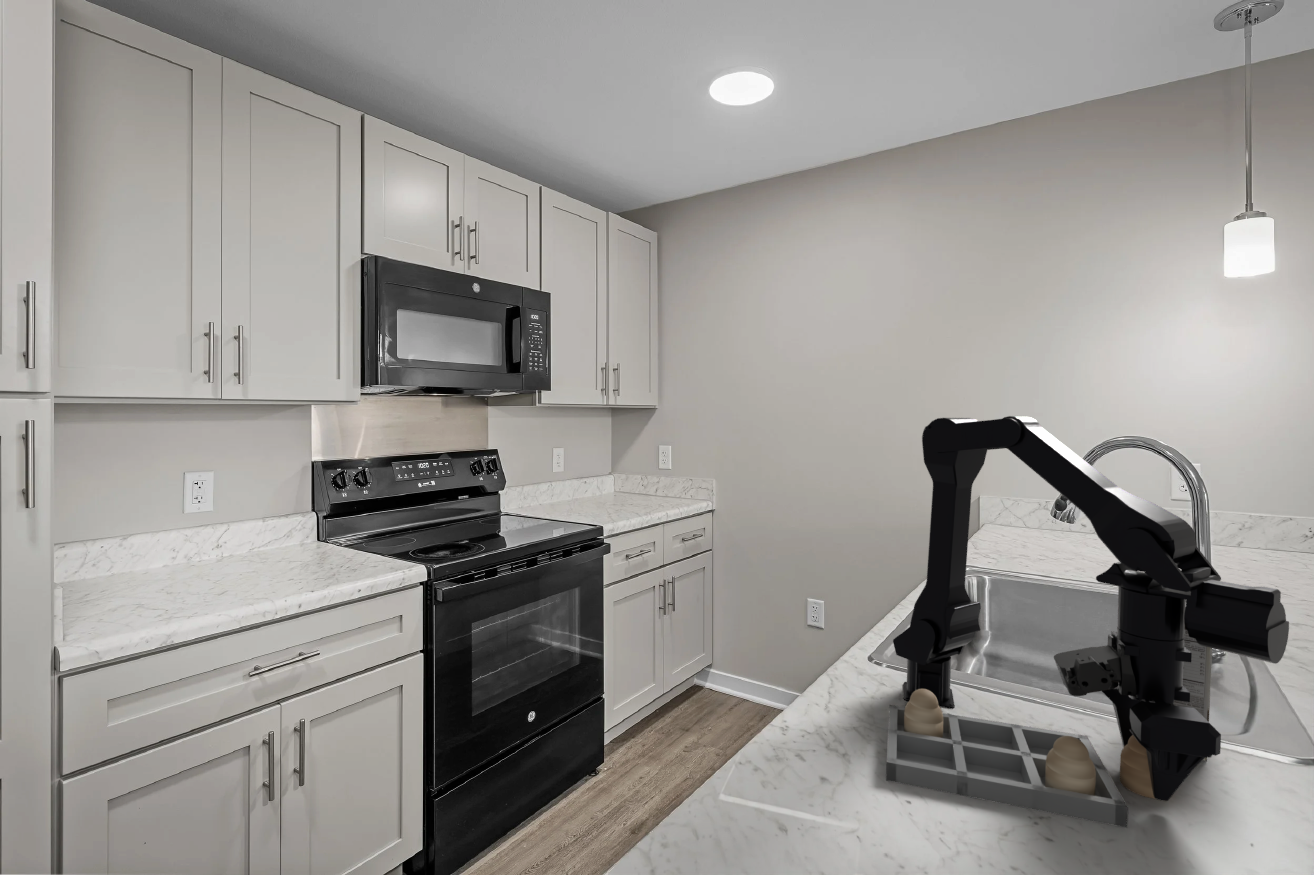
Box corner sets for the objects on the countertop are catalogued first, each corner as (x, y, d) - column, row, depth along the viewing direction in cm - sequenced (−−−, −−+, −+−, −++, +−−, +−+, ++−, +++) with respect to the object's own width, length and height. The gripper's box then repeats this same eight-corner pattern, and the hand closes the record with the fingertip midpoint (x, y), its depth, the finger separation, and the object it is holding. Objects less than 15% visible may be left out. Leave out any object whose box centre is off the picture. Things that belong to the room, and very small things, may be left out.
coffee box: (1143, 720, 86) (1147, 599, 85) (1206, 736, 82) (1211, 609, 81) (1138, 747, 79) (1143, 616, 78) (1208, 765, 75) (1213, 627, 74)
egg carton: (889, 722, 85) (889, 704, 85) (1086, 755, 77) (1087, 735, 77) (886, 783, 71) (886, 761, 71) (1127, 831, 63) (1128, 806, 63)
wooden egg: (1114, 775, 73) (1116, 721, 72) (1161, 784, 71) (1163, 728, 71) (1126, 797, 69) (1128, 739, 68) (1177, 806, 67) (1179, 747, 67)
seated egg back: (903, 728, 82) (905, 680, 82) (941, 734, 81) (943, 685, 81) (903, 744, 78) (905, 694, 78) (943, 751, 77) (945, 700, 76)
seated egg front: (1041, 780, 71) (1042, 724, 71) (1088, 788, 69) (1090, 731, 69) (1049, 802, 67) (1051, 743, 66) (1100, 812, 65) (1102, 751, 65)
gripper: (1045, 600, 81) (1041, 724, 81) (1084, 651, 63) (1079, 808, 64) (1153, 610, 77) (1148, 740, 77) (1226, 668, 59) (1219, 834, 60)
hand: (1144, 775), depth 70 cm, fingers open, 9 cm apart
